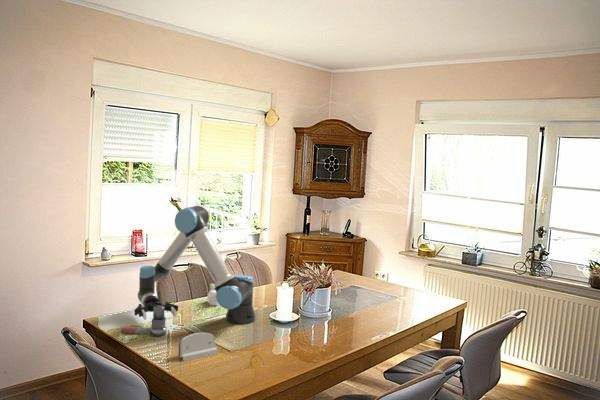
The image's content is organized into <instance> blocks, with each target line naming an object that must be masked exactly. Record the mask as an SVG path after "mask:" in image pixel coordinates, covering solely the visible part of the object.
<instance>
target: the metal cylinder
mask: <svg viewBox="0 0 600 400" xmlns="http://www.w3.org/2000/svg"><path fill="white" fill-rule="evenodd" d="M152 313H153V315H152V319H151V327H152V329H154V330H163V329H164V327H166V316H165V306H162V305H157V306H154V307H153V312H152Z"/></svg>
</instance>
